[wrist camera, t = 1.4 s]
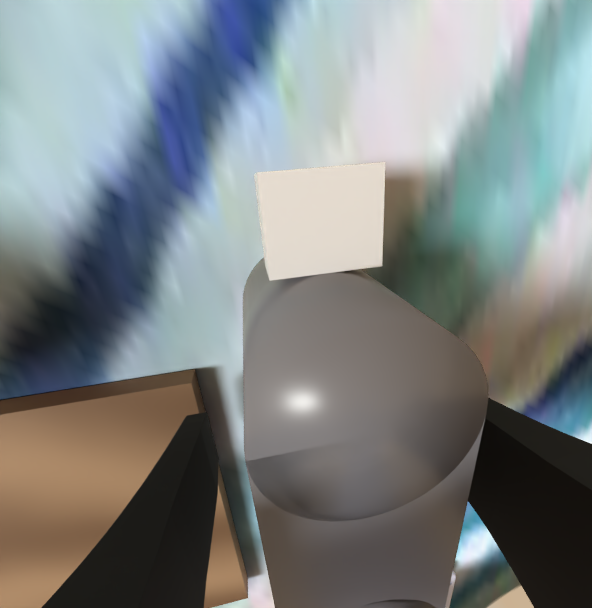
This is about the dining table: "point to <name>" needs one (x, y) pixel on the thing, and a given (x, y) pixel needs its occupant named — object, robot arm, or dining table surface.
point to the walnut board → (92, 481)
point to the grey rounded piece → (351, 405)
